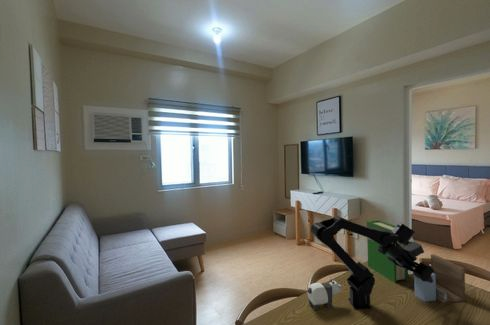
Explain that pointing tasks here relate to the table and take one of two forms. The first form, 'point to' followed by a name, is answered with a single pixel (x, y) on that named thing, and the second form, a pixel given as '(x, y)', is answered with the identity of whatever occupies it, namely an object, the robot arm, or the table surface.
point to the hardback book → (384, 256)
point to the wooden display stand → (448, 280)
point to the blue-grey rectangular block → (425, 289)
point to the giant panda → (322, 293)
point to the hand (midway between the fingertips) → (422, 276)
